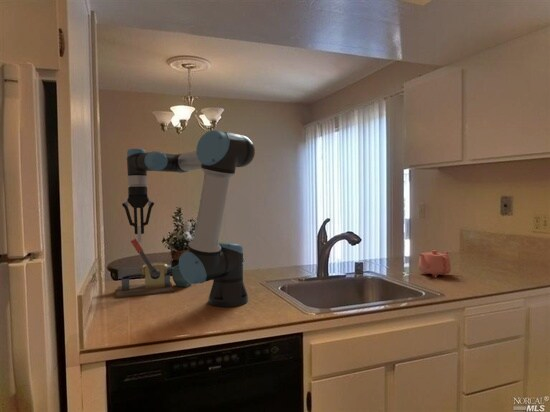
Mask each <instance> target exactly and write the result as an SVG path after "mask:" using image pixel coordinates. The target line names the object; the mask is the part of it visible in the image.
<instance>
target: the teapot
mask: <svg viewBox="0 0 550 412" xmlns="http://www.w3.org/2000/svg"><path fill="white" fill-rule="evenodd" d="M449 253H450V250H446V251H444V253H441V252H438V250H436V249H433V250H431V251H429V252H427V251H426V252H421V253H418V255H419V260H418V270H419V271H420V272H422V273H424V274H428V275H429V274H430V275H432V276H439V275H440V276H441V275H446V276H447V274H450V273H451V267H452V266H451V261H450V258H449ZM432 276H431V277H432Z"/></svg>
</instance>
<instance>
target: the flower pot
mask: <svg viewBox="0 0 550 412" xmlns="http://www.w3.org/2000/svg"><path fill="white" fill-rule="evenodd" d="M171 277H172V281H173V283H174V284H175V286H176V287H178V286H179V287H182V288H183V287H185V288H187V287H189V286H190V285H192V284H191V283H189V282H187V281H186V280H185V279H184V278H183V276H182V274H181V272H180V269H179V264H177V265H175V266H173V267H171Z"/></svg>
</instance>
